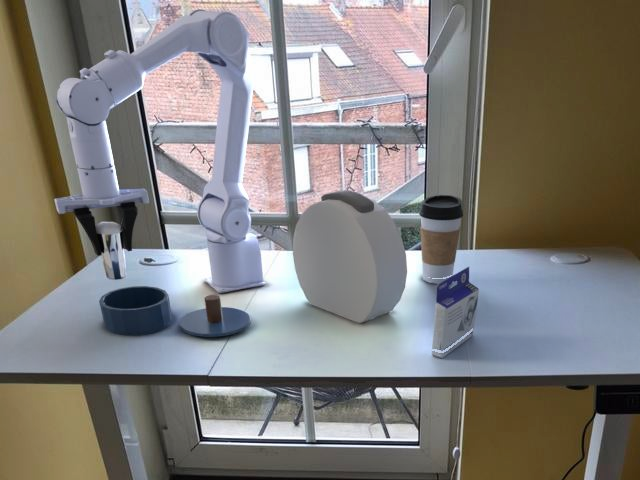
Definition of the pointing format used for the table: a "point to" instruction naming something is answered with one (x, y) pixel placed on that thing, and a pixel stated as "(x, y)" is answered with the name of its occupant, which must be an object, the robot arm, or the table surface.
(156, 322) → the tin
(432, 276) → the coffee cup
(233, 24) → the robot arm
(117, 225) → the milkshake
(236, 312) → the lid
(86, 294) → the table surface
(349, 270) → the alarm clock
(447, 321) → the ink box
